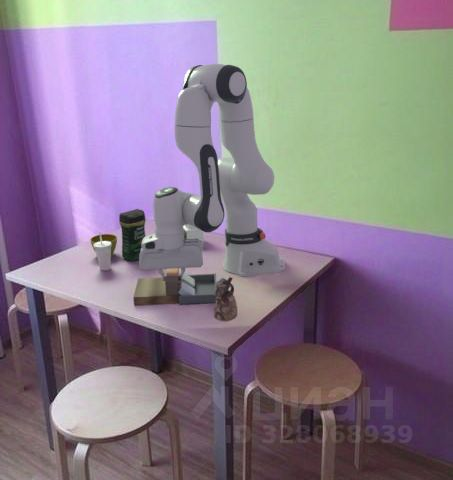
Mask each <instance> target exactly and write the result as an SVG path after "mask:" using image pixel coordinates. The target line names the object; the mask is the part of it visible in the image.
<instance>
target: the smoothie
mask: <svg viewBox="0 0 453 480" xmlns="http://www.w3.org/2000/svg"><path fill="white" fill-rule="evenodd" d="M101 234H102V232H101V231H100V232H99V235H100V242H96V243H95V244H94V248H95V251H96V252H95V251H94V252H95V254H96V259H97V262H98V265H99V269H100V271H105V272H106V271H109V270H111V268H112V267H111V263H112V261H111V259H112V256H111V246H112V244H111V242H109V241H102V237H101Z"/></svg>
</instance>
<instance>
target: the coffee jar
mask: <svg viewBox="0 0 453 480" xmlns="http://www.w3.org/2000/svg"><path fill="white" fill-rule="evenodd" d="M145 215H146V214H145V211H144V210H142V209H140V208H135V209H132V210H128V211H125V212H120V213H119V215H118V217H119V221H118V222H119V225H120V227H121V240H122V241H121V245H122V246H121V255H122V258H123V259H124V260H126V261H131V262H132V261H139V255H140V251H141V248H142V246H141V243H142V240H143V238H144V237H145V236H146V229H145V226H146V216H145Z"/></svg>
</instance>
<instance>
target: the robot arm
mask: <svg viewBox="0 0 453 480" xmlns="http://www.w3.org/2000/svg"><path fill="white" fill-rule="evenodd" d="M182 83H183V86H182V90H180V92H178V93H179V94H178V96H177V101H176V107H175V111H174V112H175V114H174V139H175V144H176V147H177V149H178V150H179V151H180V152H181V153H182V154H184V155H185V156H186V157H187V158H188V159H189V160H190V161H191V162H192V163H193V165H194V166H195V167H196V169H197V173H198V178H199V179H198V180H199V191H200V195H198V194H195V193H191V192H185V191H182V190H180V189H178V188H177V187H174V186H168V187H163V188H161V189H159V190H157V191H156V192H155V194H154V196H153V201H152V203H153V204H152V209H153V210H152V212H153V221H154V223H155V227H154V233H152V234H148V235H145V237H144V238H143V240H142V243H141V246H142V248H141V251H140V255H139V259H138V266H139V269H141V270H143V271H145V270H147V271H149V270H157V271H158V274H159V275H160V276H161V277H162V281H165V280H166V273H164V271H163V270H167V269H172V268H179V269H180V271H181V272H179V274H178V280H183V274H184V273H185V272H186V269H188V268H189V269H190V268H191V269H192V268H201V267H202V266H203V265H204V256H203V251H204V245H203V242H202V241H201V240H198V239H184V232H183V226H184V225H186V224H189V225H191V226H194V227H197V228H198V229H200V230H202V231H203V233H212V232H214V231H216V230H218V229H219V228H220V226H221V225H222V224H223V222H224V219H225V229H224V244H225V255H224V259H223V264H222V268H223V269H224V270H225V271H226V272H228V273H232V274H236V275H238V276H240V277H244V278H245V277H253V276H260V275H268V274H276V273H282V272H284V271H285V270H286V263H285V260H284V258H282V257H281V256H280V254H279V251H278V249H277V247H276V246H275V245H274V244H272V242H270V241H268V240H266V233H265V232H264V230H262V228H261V227H259V228H258V209H257V206H256V204H255V203H254V202H253V201H252V200H251V198H250V197H249V195H253V196H254V195H255V196H256V195H258V196H259V195H260V196H261V195H266V194H268V193H269V192H270V191H271V190H272V189H273V187H274V183H275V173H274V170H273V169H272V168H271V167H270V165H268V164H267V162H266V161H265V159H264V158H263V156H262V154H261V152H260V149H259V147H258V144H257V141H256V140H257V139H256V134H255V132H256V131H255V123H254V110H253V103H252V98H251V97H252V96H251V94H250V90H249V88H248V87H247V86H248V85H247V84H248V82H247V78H246V75H245V72H244V71H243V70H242V68H240V67H239V66H236V65H233V64H222V63H221V64H220V63H212V64H205V65H203V64H199V65H195V66H193V67H190V68H189V69H188V70H187V71H186V73H185V75H184V78H183V82H182ZM214 103H217V104H218V107H219V109H218V110H219V128H220V139H221V143H222V146H223V147H224V148H225V149H226V150H227V151H228V152H229V154H230V155H231V157H229V156H228V157H219V158H218V155H217V151H216V149H215V147H214V143H213V139H212V113H211V112H212V111H211V110H212V107H213V105H214ZM198 241H200V242H198Z"/></svg>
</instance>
